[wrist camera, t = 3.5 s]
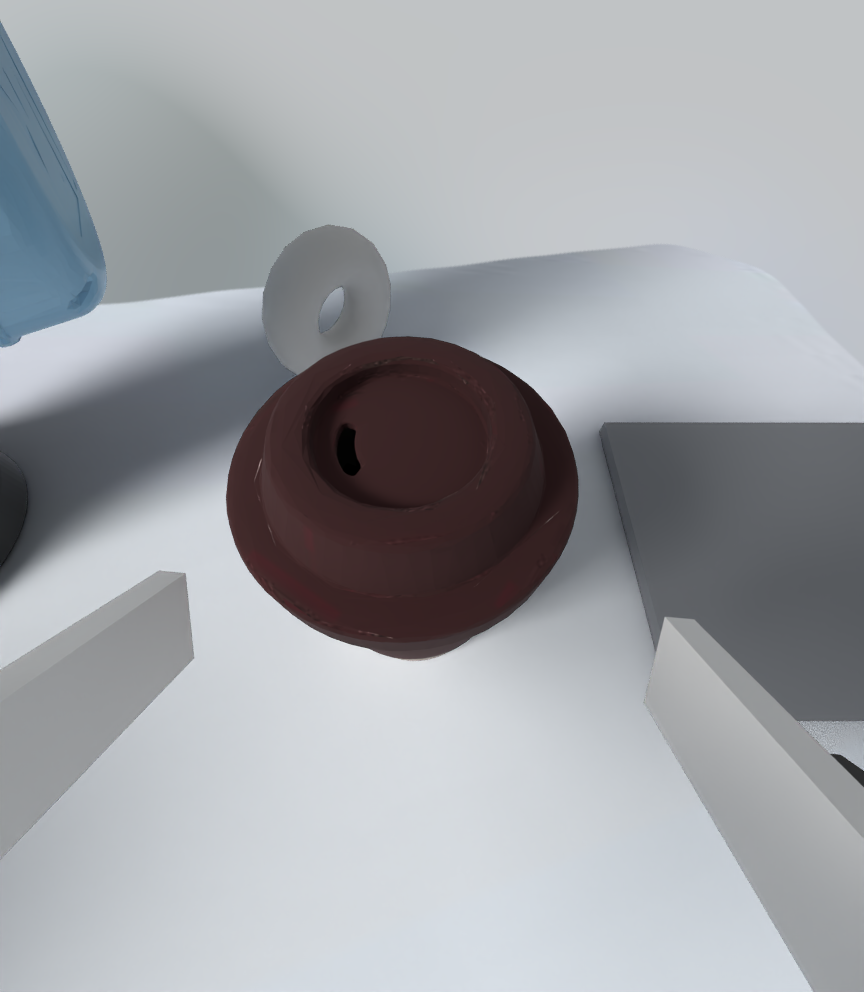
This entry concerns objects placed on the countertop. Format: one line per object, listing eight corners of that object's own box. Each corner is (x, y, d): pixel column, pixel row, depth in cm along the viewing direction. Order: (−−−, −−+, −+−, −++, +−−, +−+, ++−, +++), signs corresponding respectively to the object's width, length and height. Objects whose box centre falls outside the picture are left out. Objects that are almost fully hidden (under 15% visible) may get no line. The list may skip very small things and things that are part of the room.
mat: (673, 721, 20) (684, 721, 19) (599, 431, 29) (604, 422, 28) (1034, 719, 20) (1061, 719, 20) (851, 432, 29) (864, 422, 28)
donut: (374, 325, 35) (356, 189, 26) (404, 344, 33) (396, 208, 25) (280, 392, 31) (221, 260, 22) (310, 415, 30) (262, 286, 21)
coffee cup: (525, 549, 25) (632, 349, 12) (468, 724, 20) (541, 716, 7) (376, 494, 27) (325, 268, 13) (294, 643, 22) (98, 519, 9)
